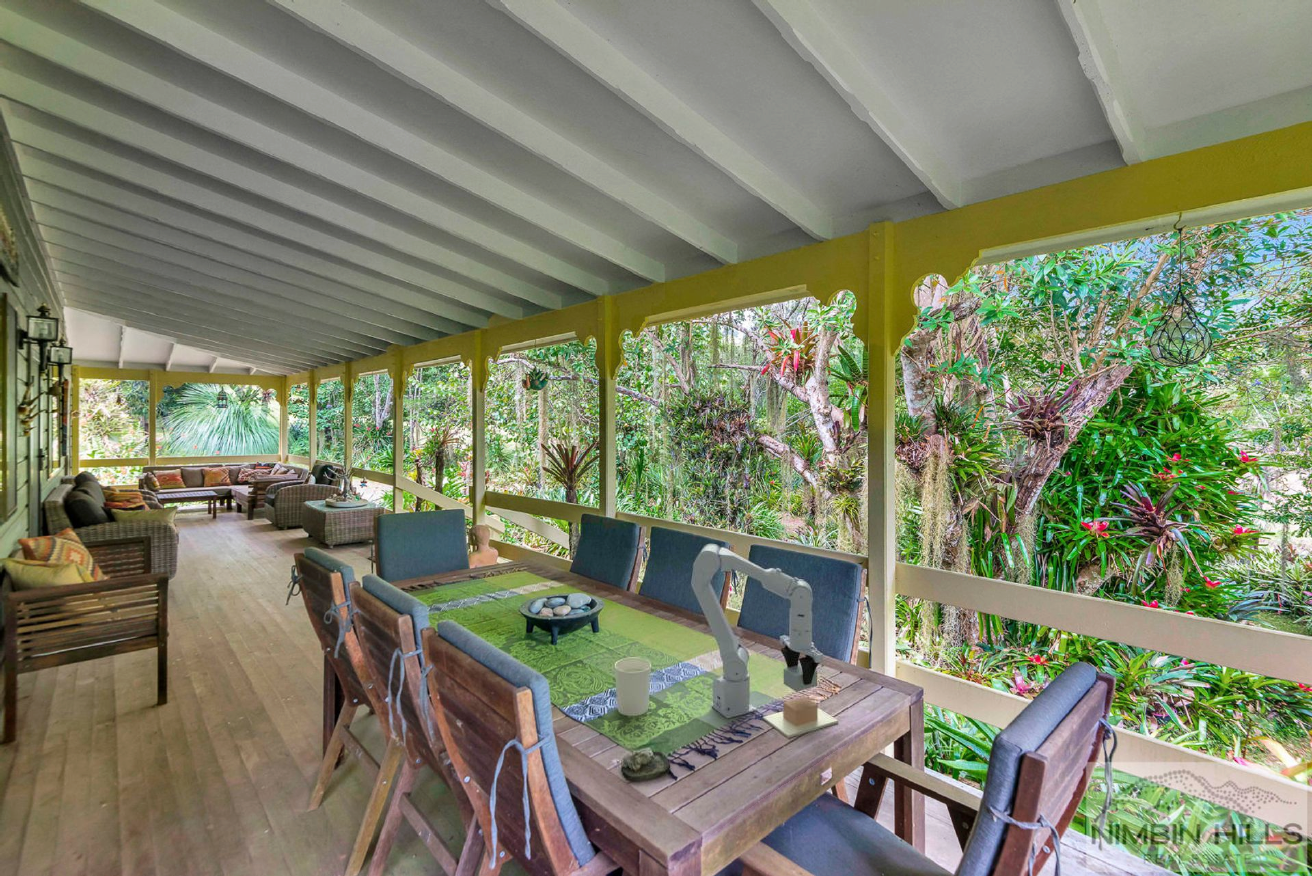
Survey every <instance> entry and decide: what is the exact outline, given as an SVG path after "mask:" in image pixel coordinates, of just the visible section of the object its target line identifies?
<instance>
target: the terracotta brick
mask: <svg viewBox="0 0 1312 876" xmlns="http://www.w3.org/2000/svg"><path fill="white" fill-rule="evenodd" d="M782 702H783V704H782V706H783V707H782V710H783V718H785V719H786V720H788V721H789V722H790V723H792V724H793V725H795V726H799V725H803V724H806V723H809V722H813V721H816V720H818V708H819V707H818V706H819V705H818V703H816V702H815V701H812V700H811V699H809V698H808V697H806V696H801V697H798V698H793V699H789V700H787V701H782Z"/></svg>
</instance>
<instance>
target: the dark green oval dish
mask: <svg viewBox="0 0 1312 876" xmlns="http://www.w3.org/2000/svg"><path fill="white" fill-rule="evenodd" d="M620 764H621V769H620V770H621V774H622V776H623V778H625V779H626V780H627V781H628V782H630V783H643V782H648V781H652V780H656V779H660V778H662V777H665V776H666V775H667V774H668V773H669V772H670V771H671V763H670V761H669V759H667V758H666V756H664V753H662V752H661V751H657V750H655V751H654V750H652V748H651V747H642V748H641V749H640V750H638V749H636V750H633V752H632V753H631V754H630V753H628V754H626V755H625V756H623V758H622V759H621V762H620Z"/></svg>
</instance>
